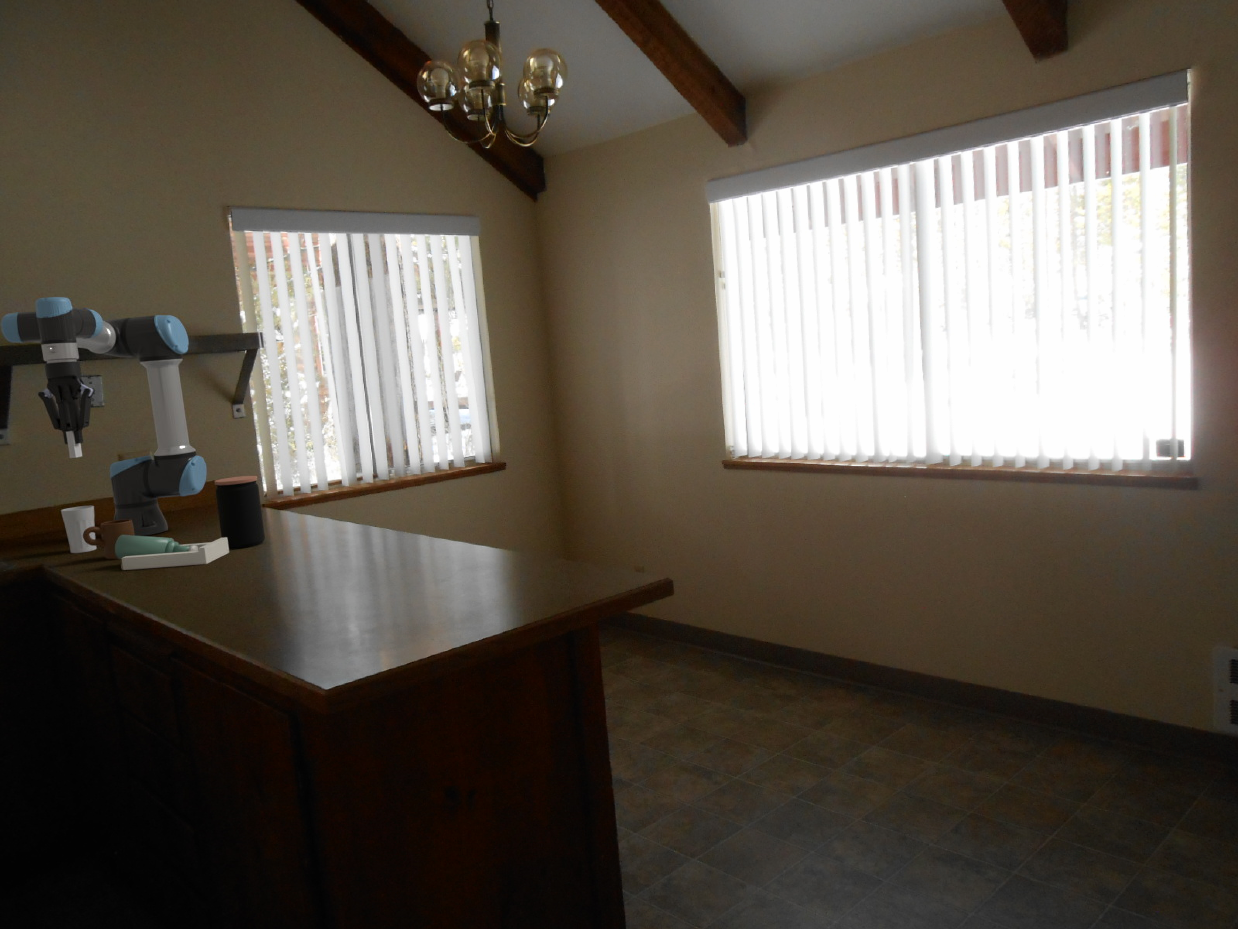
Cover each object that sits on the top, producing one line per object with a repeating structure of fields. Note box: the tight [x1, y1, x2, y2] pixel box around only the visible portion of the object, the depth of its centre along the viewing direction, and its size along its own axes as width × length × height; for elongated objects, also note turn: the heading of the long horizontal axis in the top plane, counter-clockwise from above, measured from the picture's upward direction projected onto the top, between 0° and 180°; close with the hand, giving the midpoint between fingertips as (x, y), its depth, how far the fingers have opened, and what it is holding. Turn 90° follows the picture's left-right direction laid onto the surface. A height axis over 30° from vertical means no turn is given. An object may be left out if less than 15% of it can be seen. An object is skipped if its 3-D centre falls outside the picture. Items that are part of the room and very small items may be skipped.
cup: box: [60, 505, 98, 554], centre depth 259 cm, size 8×8×12 cm
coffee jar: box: [214, 475, 266, 550], centre depth 247 cm, size 11×11×18 cm
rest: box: [120, 537, 230, 571], centre depth 232 cm, size 13×22×4 cm, turn 89°
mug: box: [83, 519, 135, 560], centre depth 243 cm, size 12×8×9 cm, turn 134°
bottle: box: [115, 535, 198, 560], centre depth 231 cm, size 6×6×18 cm
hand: (76, 457), depth 229 cm, fingers closed
